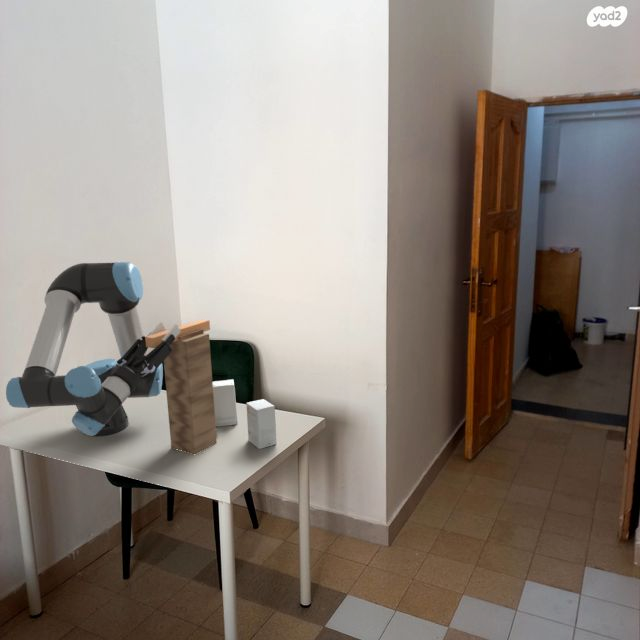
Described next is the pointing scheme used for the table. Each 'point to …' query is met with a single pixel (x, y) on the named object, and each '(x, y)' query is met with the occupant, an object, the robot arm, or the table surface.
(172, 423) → the post
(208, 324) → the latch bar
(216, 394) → the skincare box
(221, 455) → the table surface
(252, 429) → the small box
